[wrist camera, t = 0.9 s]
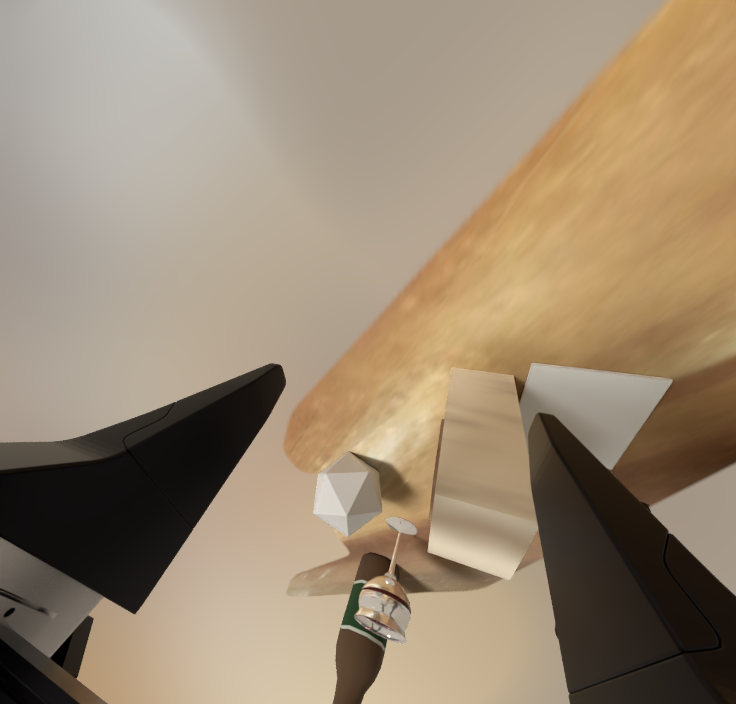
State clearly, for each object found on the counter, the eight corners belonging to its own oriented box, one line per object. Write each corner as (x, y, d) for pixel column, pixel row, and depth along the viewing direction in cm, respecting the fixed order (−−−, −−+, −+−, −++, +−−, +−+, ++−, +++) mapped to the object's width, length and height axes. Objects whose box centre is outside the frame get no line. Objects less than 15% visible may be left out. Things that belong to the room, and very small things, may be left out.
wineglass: (372, 515, 43) (343, 611, 34) (403, 511, 39) (380, 617, 30) (399, 539, 44) (378, 638, 35) (432, 537, 40) (418, 647, 31)
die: (322, 454, 39) (318, 531, 35) (312, 449, 32) (307, 547, 28) (377, 452, 40) (380, 529, 36) (381, 447, 32) (385, 544, 28)
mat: (610, 467, 24) (611, 469, 23) (505, 445, 26) (505, 447, 26) (670, 378, 18) (673, 381, 18) (531, 362, 21) (532, 364, 21)
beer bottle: (360, 560, 55) (298, 762, 36) (365, 546, 50) (298, 769, 31) (395, 577, 54) (351, 797, 35) (404, 565, 49) (359, 810, 30)
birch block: (497, 432, 26) (509, 580, 16) (442, 421, 27) (424, 551, 18) (513, 375, 22) (541, 523, 13) (449, 366, 24) (430, 492, 14)
